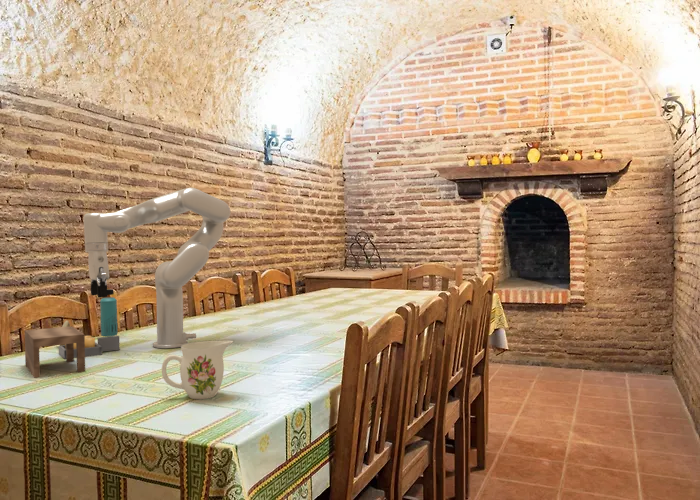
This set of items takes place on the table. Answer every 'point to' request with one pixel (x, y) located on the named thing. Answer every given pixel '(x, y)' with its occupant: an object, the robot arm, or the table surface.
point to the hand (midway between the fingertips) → (99, 295)
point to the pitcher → (199, 368)
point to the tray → (100, 346)
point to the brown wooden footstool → (50, 338)
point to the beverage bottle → (109, 315)
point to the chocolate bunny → (66, 324)
